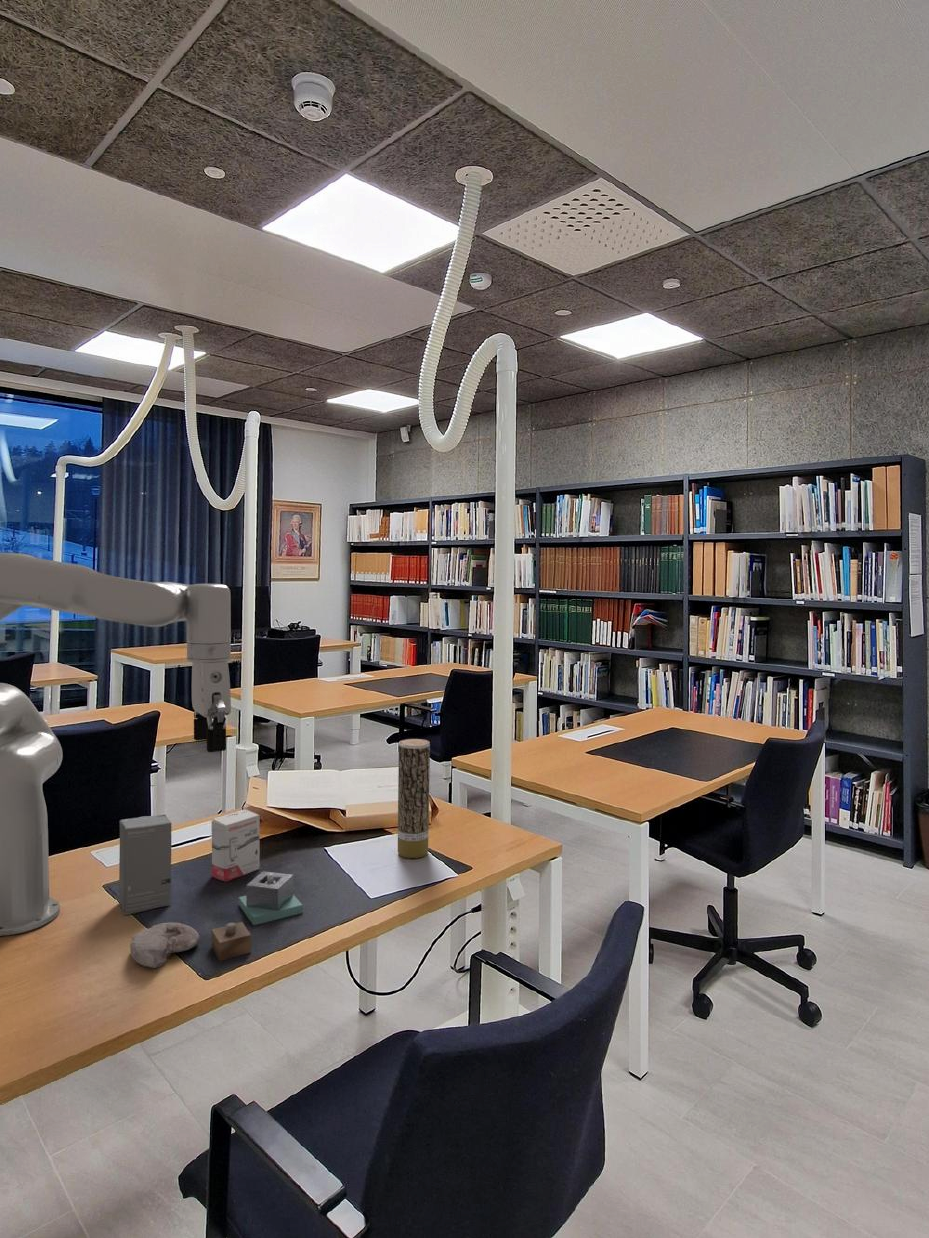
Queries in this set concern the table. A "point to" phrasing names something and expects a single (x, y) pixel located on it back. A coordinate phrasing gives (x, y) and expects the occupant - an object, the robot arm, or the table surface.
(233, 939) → the stand
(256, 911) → the green peg base
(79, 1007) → the table surface
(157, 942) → the fossil
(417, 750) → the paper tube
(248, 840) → the ink box
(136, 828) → the skincare box
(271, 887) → the collar
